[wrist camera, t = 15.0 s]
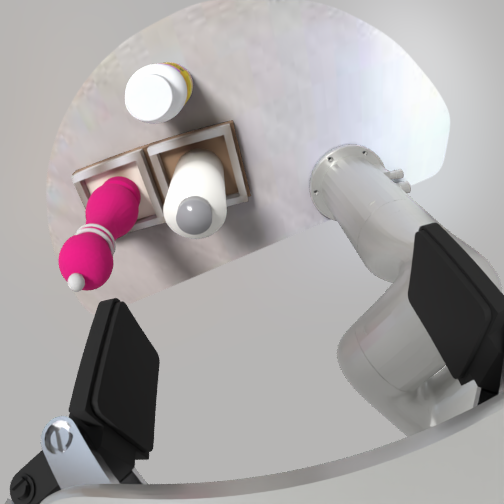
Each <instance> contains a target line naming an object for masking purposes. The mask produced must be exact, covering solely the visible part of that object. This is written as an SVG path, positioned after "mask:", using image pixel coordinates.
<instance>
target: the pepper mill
mask: <svg viewBox="0 0 504 504" xmlns="http://www.w3.org/2000/svg"><path fill="white" fill-rule="evenodd" d="M140 200H141V195H140V191H139V189H138V187H137V185H136V184H135V183H134V182H133V181H132V180H130V179H128V178H126V177H122V176H116V177H112V178H110V179H108V180H107V181H105V182H104V184H103V185H102V186H100V187H98V188H97V189H96V190H95V191H94V192H93V193H92V194H91V196H90V198H89V200H88V202H87V205H86V224H85V225H83V226H82V227H80V228H79V229H78V230H77V232H76V234H75V235H74V236H72V237H70V238H69V239H68V240H67V241H66V242H65V243H64V245H63V247H62V249H61V251H60V254H59V268H60V271H61V274H62V276H63V277H64V278H65V280H66V281H67V282H68V286H69V288H70V289H71V290H72V291H75V292H78V291H81V290H93V289H97V288H99V287H100V286H102V285H103V284H104V283H105V282H106V281H107V280H108V278H109V277H110V275H111V272H112V269H113V254H114V252H115V248H116V244H115V240H116V239H117V238H119V237H121V236H123V235H125V234H126V233H127V232H129V231H130V230H131V229H132V227H133V226H134V224H135V223H136V221H137V218H138V213H139V204H140Z"/></svg>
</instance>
